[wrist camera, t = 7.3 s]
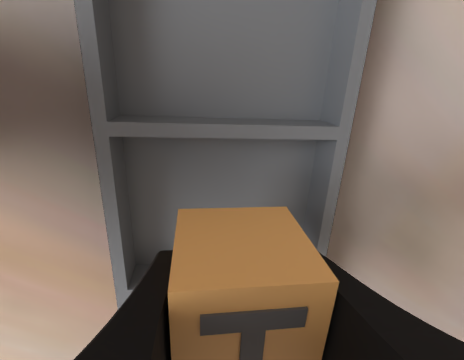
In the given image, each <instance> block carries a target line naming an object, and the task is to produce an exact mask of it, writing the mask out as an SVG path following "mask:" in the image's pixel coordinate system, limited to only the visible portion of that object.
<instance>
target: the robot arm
mask: <svg viewBox="0 0 464 360" xmlns="http://www.w3.org/2000/svg"><path fill="white" fill-rule="evenodd" d="M172 254H173V250H163V251H159V252H158V253H157V254H156V256H155V258H154V260H153V261H152V263H151V265H150V266H149V268H148V269H147V271H146V272H145V274H144V275H143V277H142V278H141V280H140V281H139V283H138V284H137V285H136V287H135V288H134V290H133V291H132V292H131V294H130V295H129V297H128V298H127V299H126V301H125V302H124V303H123V304H122V305H121V307H120V308H119V309H118V310H117V312H116V313H115V314H114V315H113V317H112V318H111V319H110V320H109V322H108V323H107V324H106V325H105V326H104V327H103V329H102V330H101V331H100V332H99V333H98V334H97V335H96V336H95V338H94V339H93V340H92V341H91V342H90V343H89V344H88V345H87V346H86V347H85V348H84V349H83V350H82V352H81V353H80V354H79V355H78V356H77V357H76V358H75V359H74V360H171V344H170V326H169V309H168V285H169V277H170V270H171V262H172ZM319 254H320V255H321V257H322V258H323V259H324V261H325V262H326V264H327V265H328V266H329V268H330V269H331V271H332V272H333V274H334V275H335V276H336V278H337V279H338V281H339V285H338V290H337V294H336V299H335V303H334V307H333V312H332V316H331V320H330V325H329V329H328V334H327V338H326V342H325V347H324V351H323V355H322V360H464V342H462V341H460V340H458V339H456V338H454V337H452V336H450V335H448V334H446V333H445V332H443V331H441V330H439V329H437V328H435V327H433V326H431V325H429V324H428V323H426V322H424V321H422V320H421V319H419V318H417V317H415V316H414V315H412V314H410V313H408V312H407V311H405V310H403V309H402V308H400V307H398V306H397V305H395V304H393V303H392V302H390V301H389V300H387V299H385V298H384V297H382V296H381V295H379V294H378V293H376V292H375V291H373V290H372V289H370V288H369V287H367V286H366V285H364V284H363V283H361V282H360V281H358V280H357V279H356V278H354V277H353V276H351V275H350V274H348V273H347V272H346V271H344V270H343V269H342V268H340V267H339V266H337V265H336V264H335V263H333V262H332V261H331V260H329V259H328V258H327V257H325V256H324V255H322V254H321V253H320V252H319Z"/></svg>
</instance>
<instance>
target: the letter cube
mask: <svg viewBox="0 0 464 360" xmlns="http://www.w3.org/2000/svg"><path fill="white" fill-rule="evenodd" d="M338 285H339V281H338V279H337V278H336V276H335V275H334V274H333V272H332V271H331V269H330V268H329V266H328V265H327V264H326V262H325V261H324V259H323V258H322V257H321V255H320V254H319V252H318V251H317V249H316V248H315V247H314V245H313V244H312V242H311V241H310V239H309V238H308V237H307V235H306V234H305V232H304V231H303V230H302V228H301V227H300V225H299V224H298V222H297V221H296V220H295V218H294V217H293V215H292V214H291V212H290V211H289V210H288V208H287V207H242V208H196V209H178V215H177V223H176V231H175V238H174V246H173V254H172V262H171V270H170V277H169V285H168V309H169V326H170V344H171V360H322V355H323V351H324V347H325V342H326V338H327V334H328V329H329V325H330V320H331V316H332V312H333V307H334V303H335V299H336V294H337V290H338Z"/></svg>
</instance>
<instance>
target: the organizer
mask: <svg viewBox="0 0 464 360" xmlns="http://www.w3.org/2000/svg"><path fill="white" fill-rule="evenodd" d="M376 3H377V0H74V5H75V12H76V19H77V26H78V33H79V40H80V47H81V54H82V61H83V68H84V75H85V82H86V89H87V96H88V103H89V110H90V117H91V124H92V131H93V138H94V145H95V152H96V159H97V166H98V173H99V180H100V187H101V194H102V201H103V208H104V215H105V222H106V229H107V236H108V243H109V250H110V257H111V264H112V271H113V278H114V285H115V292H116V299H117V306H118V309H119V308H120V307H121V305H122V304H123V303H124V302H125V301H126V299H127V298H128V297H129V295H130V294H131V292H132V291H133V290H134V288H135V287H136V285H137V284H138V283H139V281H140V280H141V278H142V277H143V275H144V274H145V272H146V271H147V269H148V268H149V266H150V265H151V263H152V261H153V260H154V258H155V256H156V254H157V253H158V252H159V251H163V250H173V246H174V238H175V231H176V223H177V215H178V209H196V208H242V207H287V208H288V210H289V211H290V212H291V214H292V215H293V217H294V218H295V220H296V221H297V222H298V224H299V225H300V227H301V228H302V230H303V231H304V232H305V234H306V235H307V237H308V238H309V239H310V241H311V242H312V244H313V245H314V247H315V248H316V249H317V251H318V252H320V253H321V254H322V255H324V256H325V257H326V255H327V250H328V245H329V240H330V235H331V230H332V225H333V220H334V215H335V210H336V205H337V199H338V194H339V189H340V184H341V179H342V174H343V169H344V164H345V159H346V154H347V149H348V144H349V139H350V134H351V129H352V124H353V119H354V114H355V109H356V104H357V99H358V94H359V89H360V84H361V79H362V73H363V68H364V63H365V58H366V53H367V48H368V43H369V38H370V33H371V28H372V23H373V18H374V13H375V8H376Z"/></svg>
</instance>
